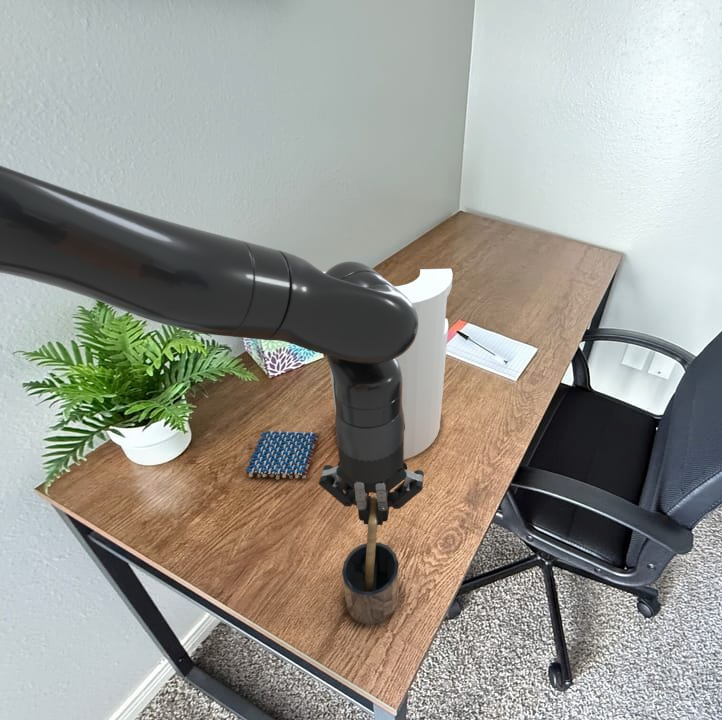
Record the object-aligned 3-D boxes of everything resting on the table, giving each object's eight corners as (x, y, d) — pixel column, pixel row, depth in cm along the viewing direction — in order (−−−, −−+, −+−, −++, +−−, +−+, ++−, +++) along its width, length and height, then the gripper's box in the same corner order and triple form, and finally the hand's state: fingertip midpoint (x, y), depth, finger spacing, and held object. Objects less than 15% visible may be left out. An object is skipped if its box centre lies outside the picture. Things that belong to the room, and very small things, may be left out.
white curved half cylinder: (336, 424, 94) (438, 413, 100) (338, 469, 85) (449, 453, 91) (318, 269, 72) (450, 266, 78) (319, 308, 64) (466, 301, 70)
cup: (395, 625, 66) (394, 596, 60) (341, 624, 65) (336, 594, 60) (400, 574, 72) (401, 543, 66) (352, 572, 71) (348, 541, 65)
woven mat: (307, 481, 83) (306, 474, 81) (245, 479, 82) (243, 472, 80) (320, 437, 91) (319, 430, 90) (264, 435, 90) (262, 427, 88)
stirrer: (371, 606, 63) (368, 555, 55) (362, 606, 63) (358, 555, 55) (380, 547, 70) (379, 494, 62) (372, 547, 70) (370, 494, 62)
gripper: (300, 455, 49) (317, 542, 60) (428, 462, 51) (421, 546, 61) (318, 406, 55) (330, 493, 66) (432, 413, 57) (425, 498, 67)
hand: (374, 518), depth 64 cm, fingers closed on stirrer, 1 cm apart
